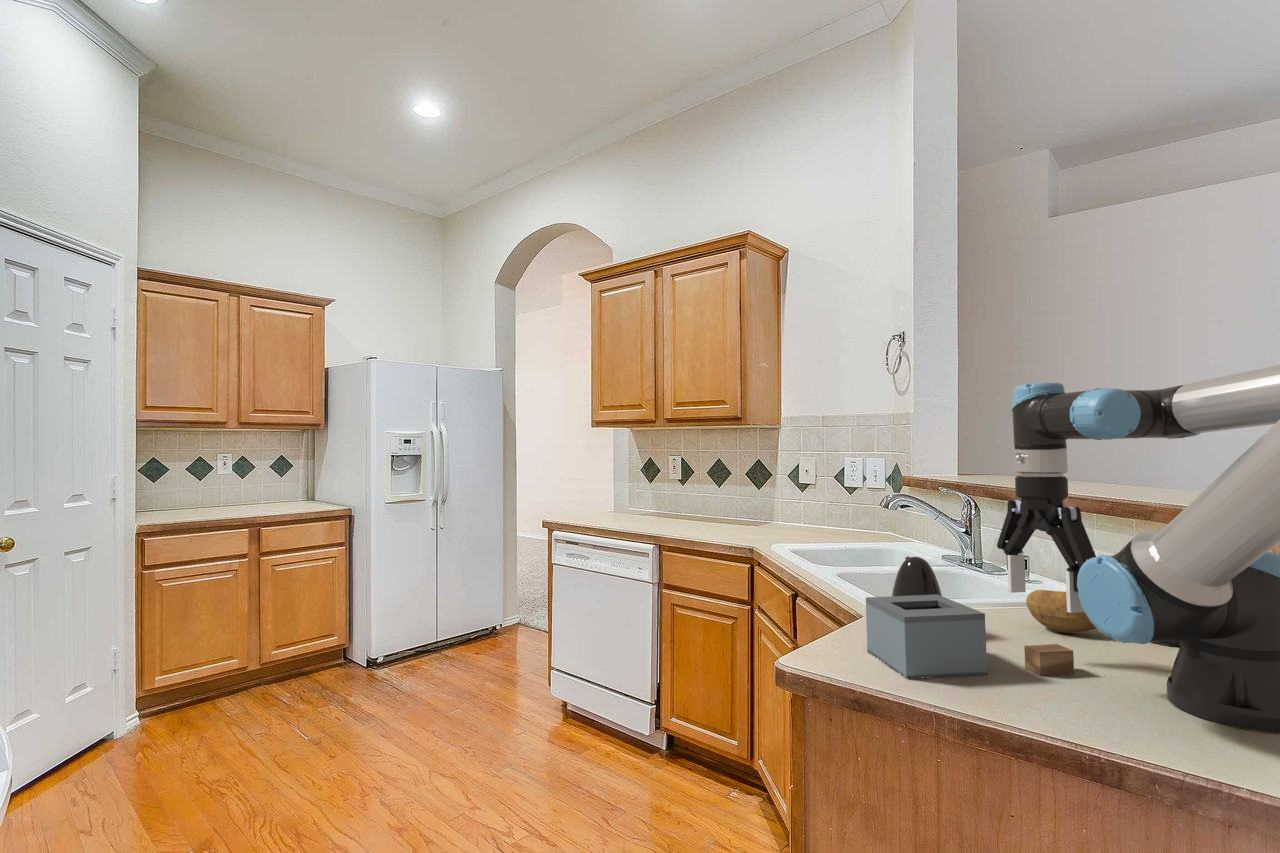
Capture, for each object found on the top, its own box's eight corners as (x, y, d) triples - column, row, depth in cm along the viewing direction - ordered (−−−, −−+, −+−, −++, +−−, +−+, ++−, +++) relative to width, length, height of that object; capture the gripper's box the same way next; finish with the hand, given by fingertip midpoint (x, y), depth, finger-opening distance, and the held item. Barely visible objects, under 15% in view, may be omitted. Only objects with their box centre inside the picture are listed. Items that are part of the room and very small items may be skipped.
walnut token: (1074, 675, 104) (1073, 650, 104) (1040, 676, 103) (1039, 652, 103) (1057, 667, 107) (1057, 643, 107) (1025, 669, 107) (1024, 645, 107)
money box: (987, 674, 104) (984, 613, 104) (906, 679, 103) (904, 617, 103) (939, 648, 118) (937, 594, 118) (867, 651, 117) (865, 597, 117)
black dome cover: (934, 624, 134) (932, 552, 134) (954, 639, 123) (951, 561, 124) (885, 624, 135) (882, 552, 135) (900, 638, 124) (897, 561, 125)
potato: (1113, 643, 119) (1111, 601, 119) (1026, 632, 127) (1024, 592, 127) (1110, 630, 127) (1108, 590, 127) (1028, 621, 135) (1026, 583, 135)
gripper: (973, 472, 118) (977, 585, 118) (1078, 479, 94) (1083, 623, 93) (1011, 471, 119) (1014, 584, 119) (1124, 478, 94) (1130, 620, 94)
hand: (1045, 601), depth 106 cm, fingers open, 13 cm apart
